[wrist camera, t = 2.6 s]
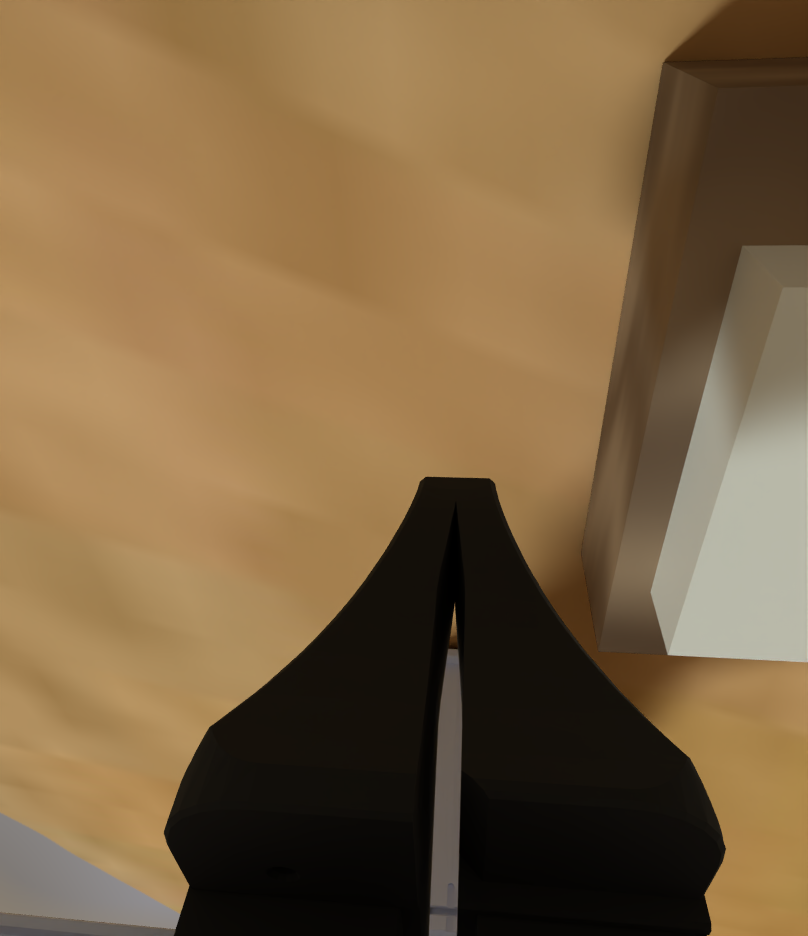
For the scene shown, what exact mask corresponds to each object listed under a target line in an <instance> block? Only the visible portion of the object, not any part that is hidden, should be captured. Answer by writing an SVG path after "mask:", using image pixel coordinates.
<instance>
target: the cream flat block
mask: <svg viewBox="0 0 808 936" xmlns="http://www.w3.org/2000/svg"><path fill="white" fill-rule="evenodd" d="M651 596H652V599H653V603H654V607H655V610H656V614H657V618H658V621H659V625H660V628H661V632H662V636H663V639H664V643H665V647H666V650H667V654H668V655H675V656H695V657H715V658H734V659H754V660H774V661H793V662H808V245H772V246H742V249H741V253H740V257H739V260H738V264H737V268H736V272H735V275H734V279H733V283H732V287H731V291H730V294H729V298H728V302H727V306H726V309H725V313H724V317H723V321H722V324H721V328H720V332H719V336H718V340H717V343H716V347H715V351H714V355H713V358H712V362H711V366H710V370H709V373H708V377H707V381H706V385H705V389H704V392H703V396H702V400H701V404H700V407H699V411H698V415H697V419H696V423H695V426H694V430H693V434H692V438H691V441H690V445H689V449H688V453H687V456H686V460H685V464H684V468H683V472H682V475H681V479H680V483H679V487H678V490H677V494H676V498H675V502H674V505H673V509H672V513H671V517H670V521H669V524H668V528H667V532H666V536H665V539H664V543H663V547H662V551H661V554H660V558H659V562H658V566H657V570H656V573H655V577H654V581H653V585H652V588H651Z"/></svg>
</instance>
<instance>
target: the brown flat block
mask: <svg viewBox="0 0 808 936" xmlns="http://www.w3.org/2000/svg"><path fill="white" fill-rule="evenodd" d="M772 245H808V57H803V58H773V59H744V60H714V61H684V62H663V65H662V71H661V77H660V83H659V89H658V95H657V101H656V107H655V113H654V119H653V125H652V131H651V137H650V143H649V149H648V155H647V161H646V167H645V173H644V179H643V185H642V191H641V197H640V203H639V209H638V215H637V221H636V227H635V233H634V239H633V245H632V251H631V257H630V263H629V269H628V275H627V281H626V287H625V293H624V299H623V305H622V311H621V317H620V323H619V329H618V335H617V341H616V347H615V353H614V359H613V365H612V371H611V377H610V383H609V389H608V395H607V401H606V407H605V413H604V419H603V425H602V431H601V437H600V443H599V449H598V455H597V461H596V467H595V473H594V479H593V485H592V491H591V497H590V503H589V509H588V515H587V521H586V527H585V533H584V539H583V545H582V551H581V556H582V561H583V567H584V573H585V579H586V584H587V590H588V596H589V602H590V607H591V613H592V619H593V625H594V630H595V636H596V642H597V648H598V651H599V652H618V653H638V654H658V655H668V654H667V650H666V647H665V643H664V639H663V636H662V632H661V628H660V625H659V621H658V618H657V614H656V610H655V607H654V603H653V599H652V596H651V588H652V585H653V581H654V577H655V573H656V570H657V566H658V562H659V558H660V554H661V551H662V547H663V543H664V539H665V536H666V532H667V528H668V524H669V521H670V517H671V513H672V509H673V505H674V502H675V498H676V494H677V490H678V487H679V483H680V479H681V475H682V472H683V468H684V464H685V460H686V456H687V453H688V449H689V445H690V441H691V438H692V434H693V430H694V426H695V423H696V419H697V415H698V411H699V407H700V404H701V400H702V396H703V392H704V389H705V385H706V381H707V377H708V373H709V370H710V366H711V362H712V358H713V355H714V351H715V347H716V343H717V340H718V336H719V332H720V328H721V324H722V321H723V317H724V313H725V309H726V306H727V302H728V298H729V294H730V291H731V287H732V283H733V279H734V275H735V272H736V268H737V264H738V260H739V257H740V253H741V249H742V246H772Z"/></svg>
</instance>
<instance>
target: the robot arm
mask: <svg viewBox="0 0 808 936" xmlns="http://www.w3.org/2000/svg"><path fill="white" fill-rule="evenodd" d="M454 604H455V611H456V626H457V641H458V649H448V647H449V640H450V633H451V626H452V619H453V612H454ZM164 835H165V838H166V842H167V845H168V847H169V849H170V851H171V853H172V854H173V856H174V858H175V860H176V862H177V863H178V865H179V867H180V869H181V871H182V873H183V874H184V876H185V878H186V880H187V882H188V883H189V885H190V886H189V889H188V892H187V895H186V899H185V902H184V905H183V908H182V911H181V914H180V917H179V921H178V924H177V927H176V929H166V928H156V927H145V926H135V925H124V924H114V923H104V922H94V921H84V920H73V919H62V918H52V917H42V916H32V915H21V914H11V913H1V912H0V936H707V935H709V934H710V932H711V920H710V916H709V912H708V908H707V904H706V900H705V896H704V894H705V892H706V890H707V889H708V887H709V885H710V883H711V882H712V880H713V878H714V876H715V874H716V873H717V871H718V869H719V867H720V866H721V864H722V862H723V858H724V854H725V850H726V848H725V845H724V842H723V836H722V832H721V828H720V825H719V822H718V819H717V817H716V814H715V812H714V809H713V807H712V804H711V802H710V799H709V797H708V795H707V792H706V790H705V788H704V785H703V783H702V781H701V779H700V777H699V775H698V773H697V771H696V769H695V767H694V765H693V763H692V761H691V759H690V758H689V757H688V756H687V755H686V754H684V753H683V752H682V751H681V750H680V749H679V748H678V747H677V746H675V745H674V744H673V743H672V742H671V741H670V740H669V739H668V738H667V737H665V736H664V735H663V734H662V733H661V732H660V731H659V730H658V729H657V728H656V727H655V726H654V725H653V724H652V723H651V722H650V721H649V720H648V719H647V718H646V717H645V716H644V715H643V714H642V713H641V712H640V711H639V710H638V709H637V708H636V707H635V706H634V705H633V704H632V703H631V702H630V701H629V700H628V699H627V698H626V697H625V696H624V695H623V694H622V693H621V692H620V691H619V690H618V689H617V687H616V686H615V685H614V684H613V683H612V682H611V680H610V679H609V678H608V677H607V676H606V675H605V674H604V672H603V671H602V670H601V669H600V668H599V667H598V665H597V664H596V663H595V662H594V661H593V660H592V659H591V657H590V656H589V655H588V654H587V653H586V652H585V650H584V649H583V648H582V646H581V645H580V644H579V643H578V641H577V640H576V639H575V637H574V636H573V635H572V633H571V632H570V631H569V629H568V628H567V627H566V625H565V624H564V622H563V621H562V620H561V618H560V617H559V615H558V614H557V613H556V611H555V610H554V608H553V607H552V605H551V604H550V602H549V600H548V599H547V597H546V596H545V594H544V593H543V591H542V589H541V588H540V586H539V584H538V582H537V581H536V579H535V577H534V576H533V574H532V572H531V570H530V569H529V567H528V565H527V563H526V561H525V559H524V557H523V555H522V553H521V551H520V549H519V547H518V545H517V543H516V541H515V539H514V537H513V535H512V533H511V530H510V528H509V526H508V523H507V521H506V518H505V516H504V513H503V511H502V508H501V505H500V502H499V499H498V495H497V491H496V486H495V483H494V482H493V481H492V480H491V479H489V478H451V477H425V478H424V479H423V480H421V481H420V484H419V487H418V490H417V492H416V495H415V497H414V499H413V502H412V504H411V506H410V508H409V510H408V512H407V514H406V516H405V518H404V520H403V522H402V523H401V525H400V527H399V529H398V530H397V532H396V534H395V535H394V537H393V539H392V540H391V542H390V544H389V546H388V547H387V549H386V550H385V552H384V554H383V555H382V556H381V558H380V559H379V561H378V562H377V564H376V565H375V567H374V568H373V569H372V571H371V572H370V574H369V575H368V577H367V578H366V580H365V581H364V582H363V584H362V585H361V586H360V588H359V589H358V590H357V591H356V593H355V594H354V595H353V597H352V598H351V599H350V600H349V601H348V603H347V604H346V605H345V606H344V607H343V609H342V610H341V611H340V612H339V613H338V614H337V616H336V617H335V618H334V619H333V620H332V621H331V622H330V623H329V624H328V625H327V626H326V628H325V629H324V630H323V631H322V632H321V633H320V634H319V635H318V636H317V637H316V638H315V639H314V640H313V641H312V642H311V643H310V644H309V645H308V646H307V647H306V648H305V649H304V650H303V651H302V652H301V653H300V654H299V655H298V656H297V657H296V658H295V659H293V660H292V661H291V662H290V663H289V664H288V665H287V666H286V667H284V668H283V669H282V670H281V671H280V672H279V673H278V674H277V675H276V676H274V677H273V678H272V679H271V680H270V681H269V682H268V683H267V684H265V685H264V686H263V687H262V688H260V689H259V690H258V691H257V692H256V693H254V694H253V695H252V696H250V697H249V698H248V699H246V700H245V701H244V702H242V703H241V704H240V705H238V706H237V707H236V708H235V709H233V710H232V711H231V712H229V713H228V714H227V715H225V716H224V717H223V718H221V719H220V720H219V721H217V722H216V723H215V724H213V725H212V726H210V727H209V729H208V731H207V732H206V734H205V736H204V738H203V739H202V741H201V743H200V745H199V747H198V748H197V750H196V752H195V754H194V756H193V758H192V760H191V762H190V764H189V766H188V768H187V770H186V772H185V774H184V777H183V779H182V781H181V784H180V787H179V789H178V792H177V795H176V798H175V801H174V804H173V807H172V809H171V812H170V815H169V818H168V821H167V824H166V827H165V830H164Z"/></svg>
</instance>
